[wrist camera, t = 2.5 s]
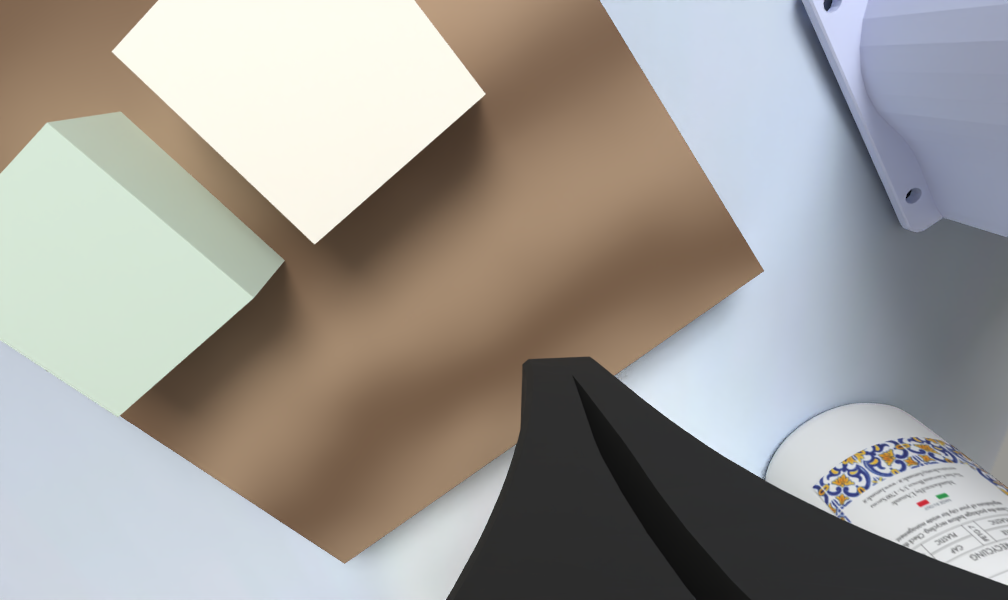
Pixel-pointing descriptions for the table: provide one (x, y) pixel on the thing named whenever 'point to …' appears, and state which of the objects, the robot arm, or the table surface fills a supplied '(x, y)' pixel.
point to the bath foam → (898, 485)
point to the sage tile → (116, 258)
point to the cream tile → (304, 92)
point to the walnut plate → (415, 261)
